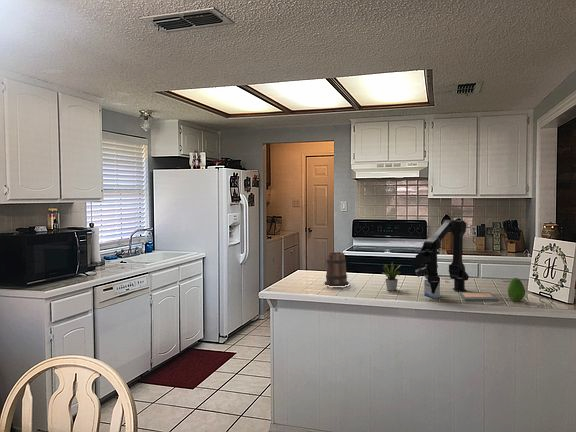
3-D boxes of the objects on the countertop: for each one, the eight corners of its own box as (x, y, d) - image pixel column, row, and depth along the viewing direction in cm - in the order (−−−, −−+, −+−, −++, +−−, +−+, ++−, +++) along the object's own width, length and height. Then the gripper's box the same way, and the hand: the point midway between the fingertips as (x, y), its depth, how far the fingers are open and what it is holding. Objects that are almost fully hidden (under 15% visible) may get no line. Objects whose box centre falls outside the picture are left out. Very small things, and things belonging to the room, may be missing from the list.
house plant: (374, 291, 279) (374, 263, 278) (379, 287, 292) (378, 260, 291) (400, 293, 274) (400, 264, 273) (403, 288, 287) (403, 260, 286)
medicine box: (423, 295, 266) (423, 279, 265) (430, 294, 268) (430, 278, 267) (433, 298, 259) (433, 282, 258) (440, 297, 260) (440, 281, 260)
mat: (459, 294, 266) (459, 291, 266) (490, 294, 264) (490, 292, 264) (464, 300, 251) (464, 298, 251) (497, 301, 248) (497, 298, 248)
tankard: (347, 288, 291) (346, 255, 290) (319, 287, 296) (319, 254, 295) (354, 281, 313) (354, 250, 312) (328, 280, 318) (328, 249, 317)
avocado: (508, 302, 244) (508, 278, 244) (507, 299, 252) (507, 276, 251) (526, 303, 241) (526, 279, 241) (524, 300, 249) (524, 276, 248)
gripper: (414, 260, 273) (415, 288, 274) (417, 265, 254) (418, 295, 255) (435, 260, 271) (435, 288, 272) (440, 265, 253) (440, 295, 253)
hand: (432, 291), depth 263 cm, fingers closed on medicine box, 9 cm apart
